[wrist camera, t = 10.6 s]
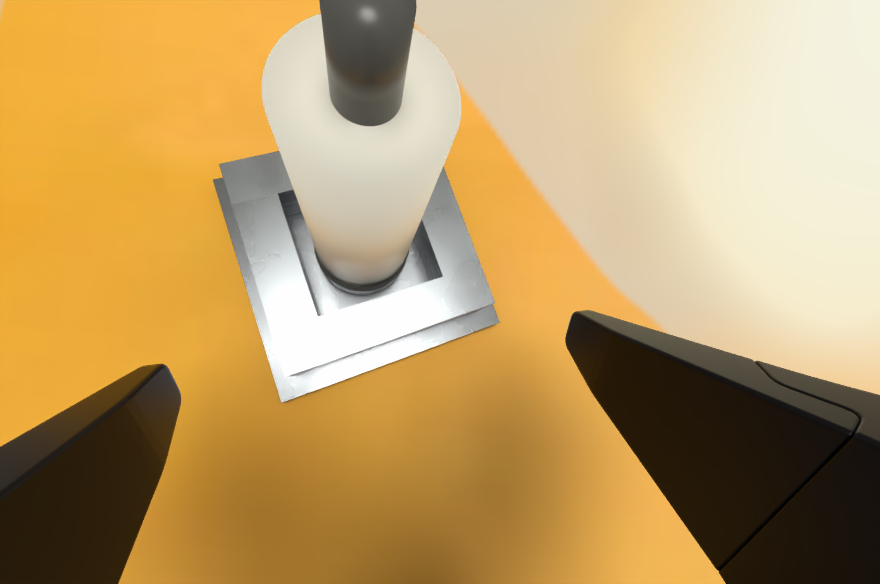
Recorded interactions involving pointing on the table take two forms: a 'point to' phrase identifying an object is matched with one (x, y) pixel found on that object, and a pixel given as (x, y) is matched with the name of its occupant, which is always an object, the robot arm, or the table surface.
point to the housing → (333, 310)
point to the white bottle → (361, 132)
